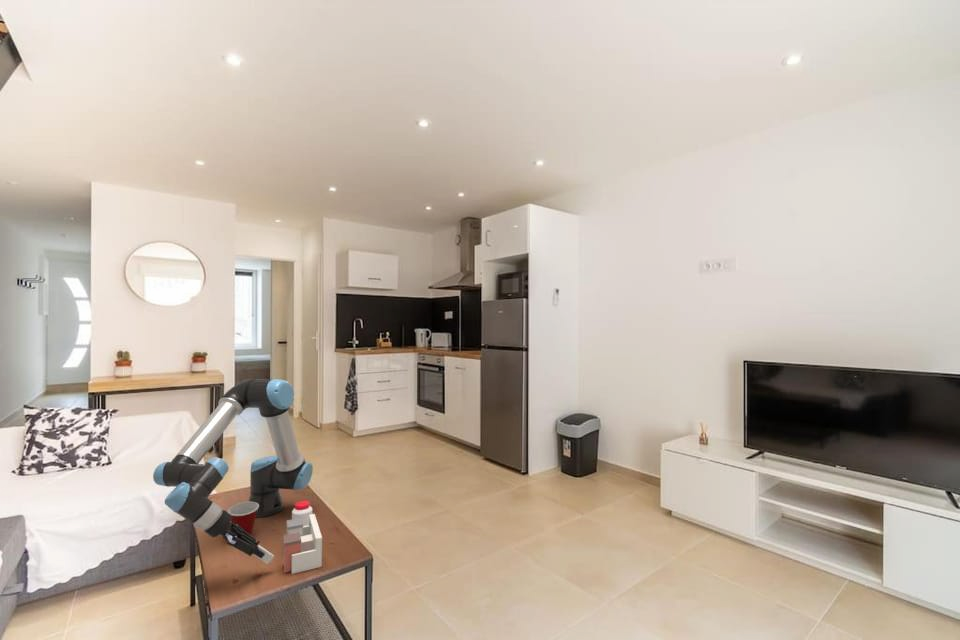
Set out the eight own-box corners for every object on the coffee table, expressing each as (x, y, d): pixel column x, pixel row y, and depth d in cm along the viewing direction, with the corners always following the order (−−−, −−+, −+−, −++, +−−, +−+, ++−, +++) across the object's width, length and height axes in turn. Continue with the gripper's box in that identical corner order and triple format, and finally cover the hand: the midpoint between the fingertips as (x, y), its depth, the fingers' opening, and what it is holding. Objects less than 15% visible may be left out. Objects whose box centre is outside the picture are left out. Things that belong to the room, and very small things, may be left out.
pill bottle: (304, 536, 170) (305, 508, 170) (287, 534, 171) (287, 506, 171) (316, 527, 177) (316, 500, 177) (299, 525, 179) (299, 498, 179)
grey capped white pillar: (286, 546, 161) (286, 520, 161) (301, 543, 163) (301, 517, 163) (287, 554, 155) (287, 527, 156) (302, 551, 158) (303, 524, 158)
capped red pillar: (283, 563, 150) (283, 535, 150) (299, 560, 152) (299, 532, 152) (284, 572, 144) (284, 543, 144) (300, 568, 146) (301, 540, 147)
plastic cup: (226, 547, 161) (226, 515, 161) (227, 534, 170) (228, 504, 170) (258, 540, 166) (259, 509, 166) (258, 529, 175) (259, 499, 175)
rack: (287, 545, 162) (287, 518, 163) (314, 539, 167) (314, 513, 167) (291, 573, 144) (292, 543, 144) (321, 566, 148) (322, 537, 148)
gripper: (205, 521, 142) (261, 560, 149) (201, 539, 130) (262, 579, 138) (224, 502, 144) (278, 541, 152) (222, 518, 133) (280, 559, 140)
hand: (270, 559), depth 145 cm, fingers closed
